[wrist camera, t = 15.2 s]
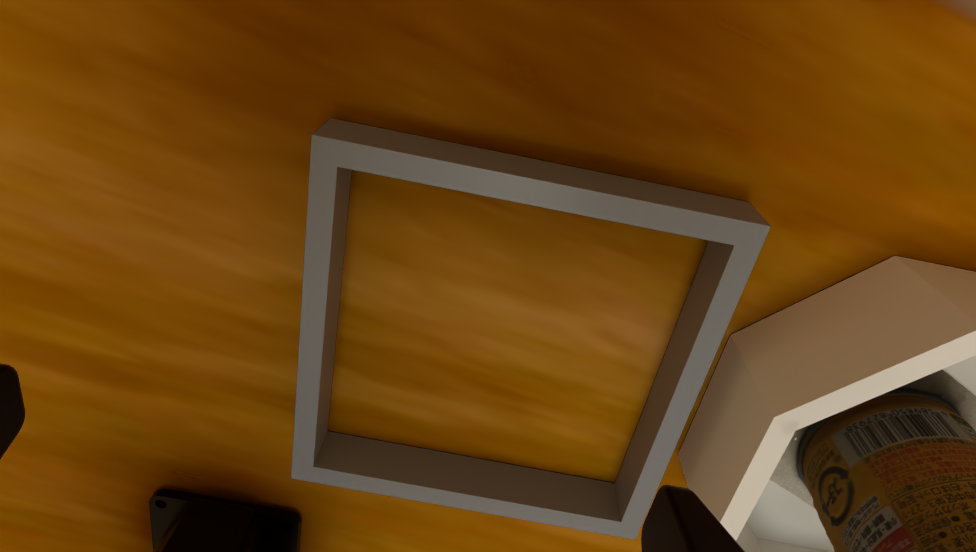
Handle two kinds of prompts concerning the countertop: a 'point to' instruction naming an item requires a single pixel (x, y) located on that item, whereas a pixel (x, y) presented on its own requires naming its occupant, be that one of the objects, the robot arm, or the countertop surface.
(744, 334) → the bowl
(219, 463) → the countertop surface
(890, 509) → the condiment
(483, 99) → the countertop surface
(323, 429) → the open square frame
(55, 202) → the countertop surface
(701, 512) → the robot arm
